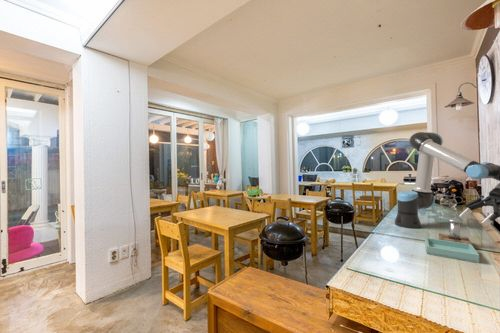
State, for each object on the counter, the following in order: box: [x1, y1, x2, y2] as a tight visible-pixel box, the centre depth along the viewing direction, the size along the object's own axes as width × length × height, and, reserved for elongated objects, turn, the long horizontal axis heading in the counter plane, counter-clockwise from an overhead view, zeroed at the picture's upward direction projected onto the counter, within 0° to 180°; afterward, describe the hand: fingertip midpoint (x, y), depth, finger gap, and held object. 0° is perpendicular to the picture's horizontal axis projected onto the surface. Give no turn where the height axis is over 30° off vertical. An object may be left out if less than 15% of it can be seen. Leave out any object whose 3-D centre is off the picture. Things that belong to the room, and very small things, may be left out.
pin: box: [447, 217, 463, 240], centre depth 123 cm, size 6×6×13 cm
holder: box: [438, 233, 474, 247], centre depth 123 cm, size 12×12×3 cm
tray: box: [424, 237, 480, 264], centre depth 111 cm, size 18×16×4 cm
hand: (472, 220), depth 121 cm, fingers open, 13 cm apart
